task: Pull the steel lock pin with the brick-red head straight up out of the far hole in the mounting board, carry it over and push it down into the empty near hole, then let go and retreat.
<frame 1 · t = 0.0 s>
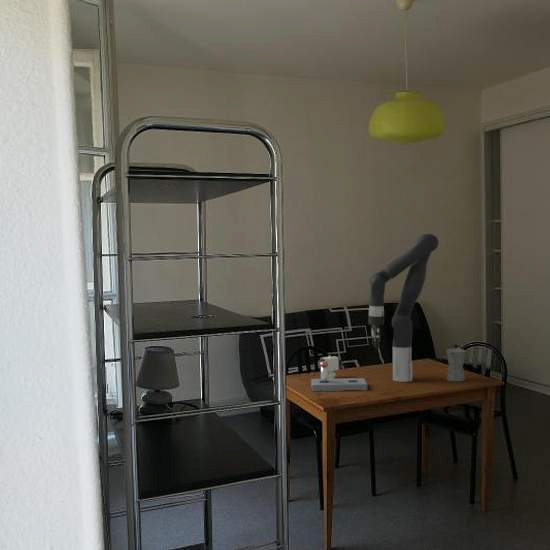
hand: (375, 346, 313), 17 cm above the table, tool pointing down, fingers open, 8 cm apart
mount board: (338, 387, 302), on the table
coffeepot: (456, 380, 313), on the table
pneumatic valve: (329, 378, 321), on the table
lock pin: (324, 387, 302), resting in mount board
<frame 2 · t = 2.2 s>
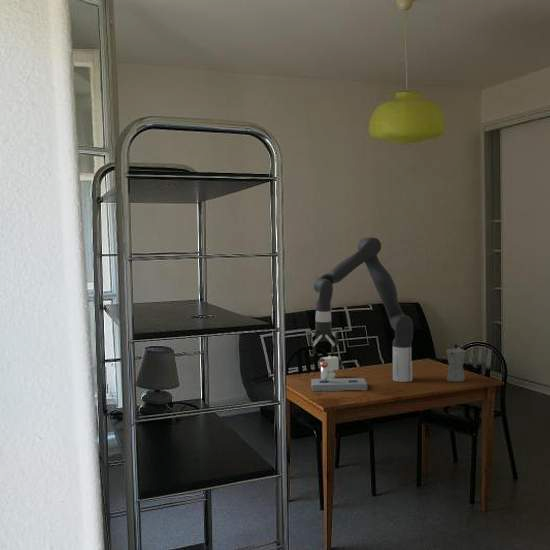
hand: (323, 353, 301), 17 cm above the table, tool pointing down, fingers open, 8 cm apart
nothing on the table moved.
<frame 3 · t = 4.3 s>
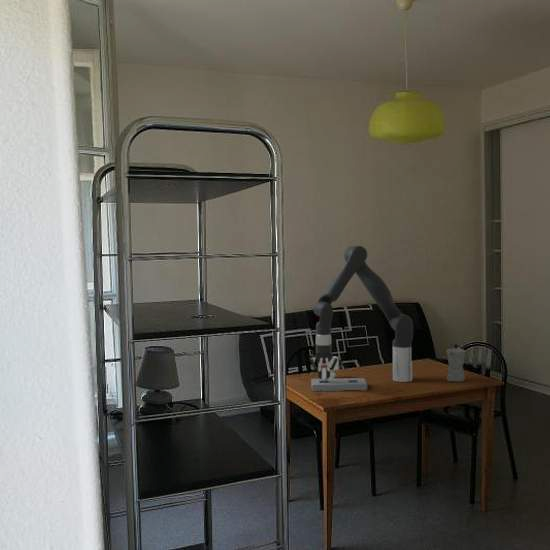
hand: (324, 378, 302), 5 cm above the table, tool pointing down, fingers closed on lock pin, 3 cm apart
lock pin: (324, 387, 302), resting in mount board, touching gripper
everything else where it was.
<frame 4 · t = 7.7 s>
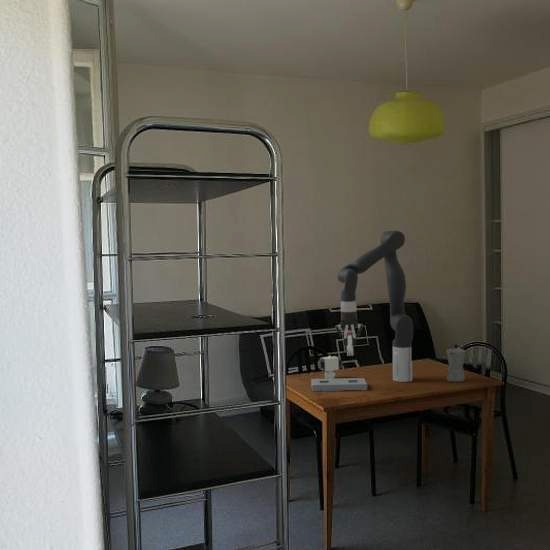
hand: (349, 345, 300), 20 cm above the table, tool pointing down, fingers closed on lock pin, 3 cm apart
lock pin: (350, 355, 301), point 16 cm above the table, touching gripper
everything else where it was.
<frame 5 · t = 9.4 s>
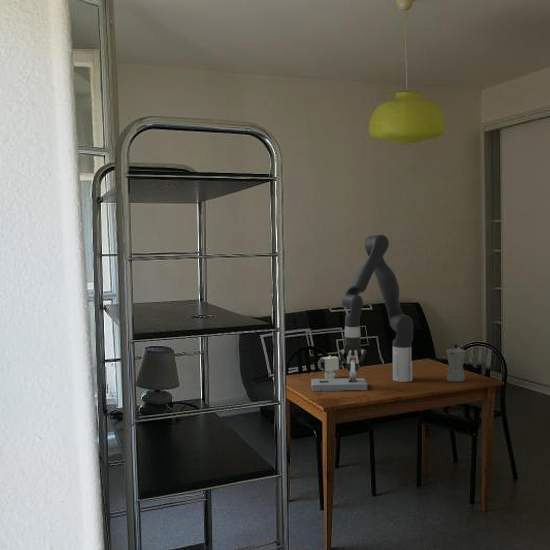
hand: (352, 370, 301), 8 cm above the table, tool pointing down, fingers closed on lock pin, 3 cm apart
lock pin: (352, 380, 301), point 3 cm above the table, touching gripper
everything else where it was.
when the fingers open (5 cm above the table, at t = 11.0 s): lock pin stays where it is, resting in mount board.
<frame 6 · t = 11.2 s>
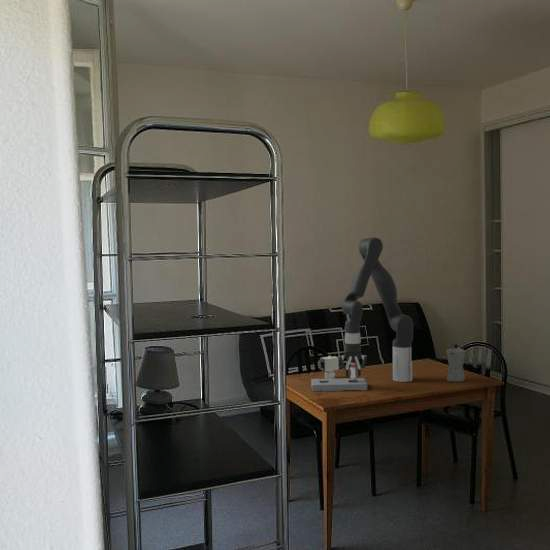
hand: (353, 376, 301), 5 cm above the table, tool pointing down, fingers open, 4 cm apart
lock pin: (353, 387, 302), resting in mount board
everything else where it was.
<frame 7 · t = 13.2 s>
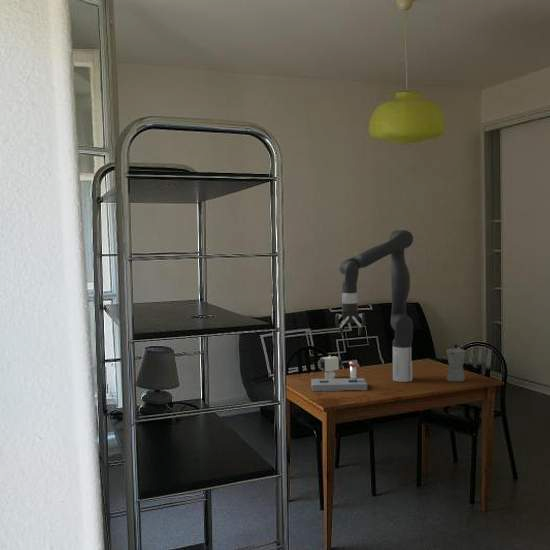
hand: (350, 335, 304), 25 cm above the table, tool pointing down, fingers open, 8 cm apart
nothing on the table moved.
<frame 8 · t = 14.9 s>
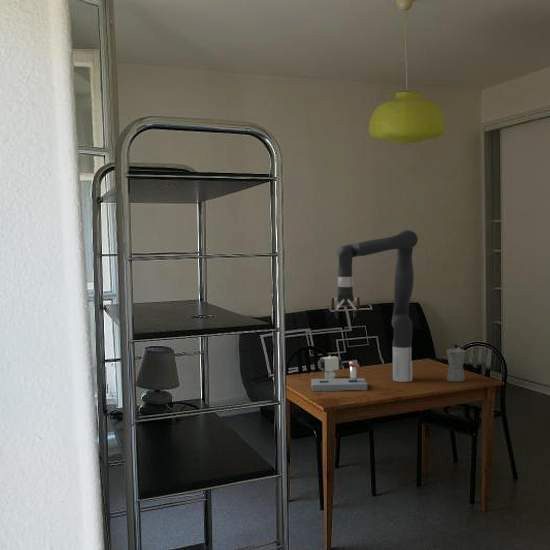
hand: (345, 317, 312), 32 cm above the table, tool pointing down, fingers open, 8 cm apart
nothing on the table moved.
at the end: lock pin 0.1 cm from the target spot on the mount board, point 0.0 cm above the mount board's base; lock pin tilted 0°; the gripper is holding nothing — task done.
